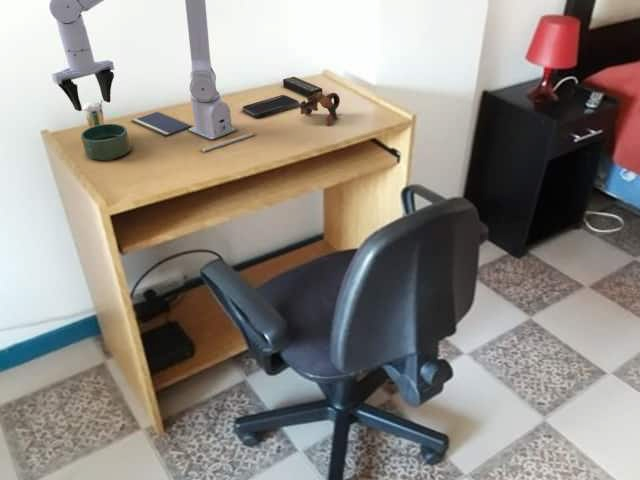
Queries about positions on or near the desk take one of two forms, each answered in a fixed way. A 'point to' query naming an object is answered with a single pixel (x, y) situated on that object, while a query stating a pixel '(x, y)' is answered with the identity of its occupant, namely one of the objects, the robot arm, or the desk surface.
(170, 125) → the blue notebook
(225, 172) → the desk surface
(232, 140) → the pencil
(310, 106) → the brown looped figurine
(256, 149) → the desk surface
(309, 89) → the multiport hub
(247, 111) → the phone
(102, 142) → the bowl
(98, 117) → the milkshake
